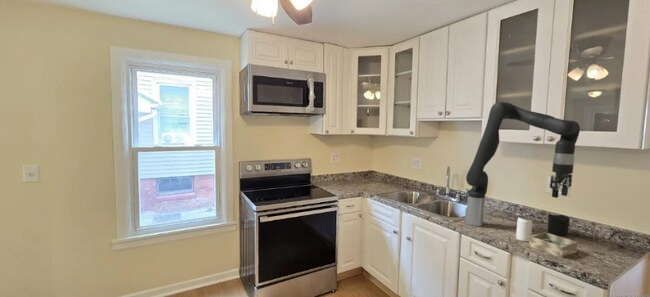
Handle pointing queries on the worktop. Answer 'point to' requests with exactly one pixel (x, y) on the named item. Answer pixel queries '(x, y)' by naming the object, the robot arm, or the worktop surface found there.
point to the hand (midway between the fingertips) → (559, 196)
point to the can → (524, 228)
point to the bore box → (553, 244)
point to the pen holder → (558, 224)
